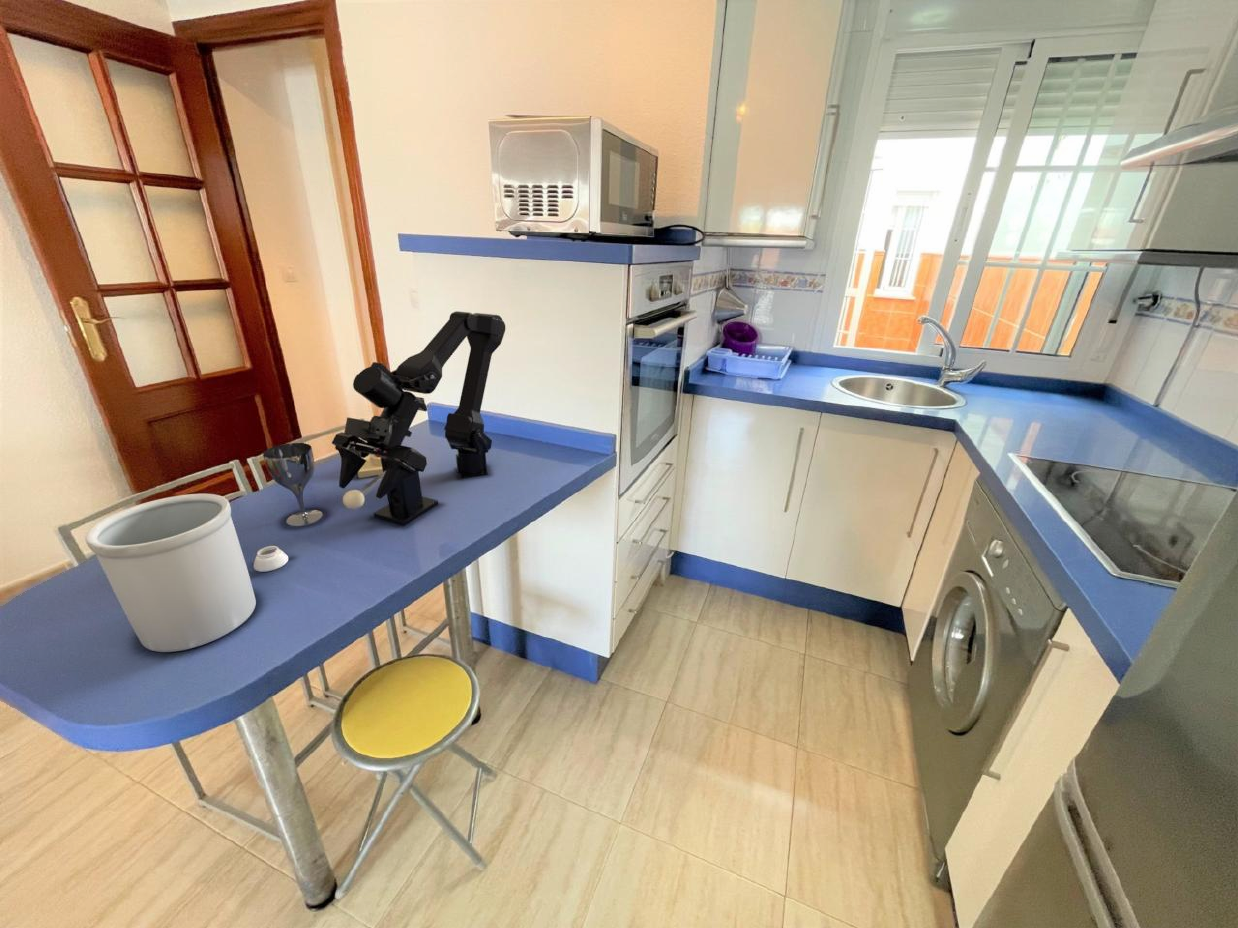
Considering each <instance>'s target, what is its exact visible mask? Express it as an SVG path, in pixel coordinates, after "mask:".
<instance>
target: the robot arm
mask: <svg viewBox="0 0 1238 928" xmlns="http://www.w3.org/2000/svg"><path fill="white" fill-rule="evenodd" d="M505 332H506V323H505V321H504V320H503V318H502V317H501V316H500V315H499V314H491V313H483V312H482V313H481V312H475V313H472V312H470V311H469V312H468V311H458V310H456V311H454V312H451V313H450V315H449V318H448V320H447V321H446V322H445V324H443V326H442V327H441V328H440V329H439V330H438V332H437V333H436V334H435V335H434V337H432V339H431V340H430V341H429V343H428V344H427V345H426V346H425V347H424V348H423V350H421V351H420V352H417V353H416V354H414V355H411V356H409V357H407V358H406V359H405V360H403V361H402V362H401V363H400V364H399V365H398V366H397V368H396V369H393V370H392V371H390V370H389V369H388V368H387V366H386V365H385V364H384V363H382V362H377V361H373V362H372V363H371V364H370V366H368V367H366V368H364V369H362V370H361V371H360V372H359V373H357V374H356V375H355V376H354V379H353V383H352V387H353V390H354V391H355V392H356V393H357V394H359V395H361V396H362V397H363V398H365V399H366V400H367V401H369V402H370V403H371V404H372V405H374V406H375V407H377V408H379V409H382V411H381V412H380V415H373V416H372V417H371V419H370V420H365V419H359V418H353V417H346V422H345V425H344V426H345V427H344V432H343V431H342V432H338V433H336V434H335V435H334V438H333V439H332V441H331V445H333V446H334V449H335V450H336V451H337V452H338V453H339V456H340V473H339V482H338V488H341V489H343V490H344V489H346V487H348V485H349V484H351V482H352V480H353V479H354V478H355V477H356V475H358V471H359V470H360V469H361V468H362V466H363V465H364V464H365V462H366V461H367V460H365V459H363V458H365V457H367V456H368V455H370V454H372V455H377V456H381V457H385V458H386V462H387V470H386V472H385V474H384V477H383V479H382V481H381V483H380V484H379V485H378V488H377V490H376V494H375V497H376V498H378V499H383V498H384V497H385V496H387V493H388V492H390V491H391V490H392V489H393V488H395V487H396V486H397V485H398V484H400V483H401V482H402V481H404V480H405V479H407V478H408V477H410V476H411V475H413V474H415V475H416V474H417V472H416V471H418V472H421V473H423V472H424V471H425V469H426V467H427V465H428V462H427V457H426V455H424V454H422V453H421V452H419V451H418V450H417V449H415V448H414V447H410V446H406V445H402V444H403V442H404V440H405V438H406V437H407V438H411V437H412V434H413V432H412V431H411V430H410V427H411V425H412V423H413V421H414V419H415V417H416V415H417V414H418V411H419V412H420V411H421V412H427V411H428V407H427V404H426V402H425V398H424V397H420V396H416V395H415V394H414V393H419V394H424V395H428V394H429V395H430V394H432V393H434V391H435V390H436V389H437V387H438V385H439V384H440V381H441V380H442V378H443V368H444V366H445V364H446V363H447V362H448V361H449V359H450V358H451V357H452V355H453V354H454V353H455V352H456V350H457V349H458V348H459V347H460V346H461V344H462V342H464V341H465V339H466V338H467V341H468V344H469V347H470V350H469V355H468V360H467V365H466V370H465V375H464V380H463V384H462V388H461V393H460V399H459V403H458V408H457V409H456V410H455V411H454V412H453V413H452V412H448V414H447V416H446V423H445V425H444V428H443V431H444V438H445V439H446V441H447V443H448V445H449V447H450V449H451V450H455V451H457V453H456V454H455V463H456V464H455V465H456V471H457V474H459V476H460V478H461V479H467V478H475V477H483V476H489V470H488V467H487V456H486V454H488V453H489V450H491V449H492V444H493V440H492V439H491V438H490V437H489V436H488V435H486V434H485V433H484V431H485V423H484V420H483V418H482V415H481V411H482V410H481V409H482V405H483V399H484V395H485V389H486V384H487V380H488V375H489V372H490V371H489V370H490V365H491V360H492V356H493V353H494V352H496V350H497V349H498V348H499V347H500V346H501V344H502V341H503V339H504V335H505ZM375 450H377V451H375ZM384 452H387V453H384ZM361 457H362V458H361ZM415 470H416V471H415Z"/></svg>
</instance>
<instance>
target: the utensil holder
mask: <svg viewBox="0 0 1238 928" xmlns="http://www.w3.org/2000/svg"><path fill="white" fill-rule="evenodd" d="M231 514H232V507H231V505H230V501H229V500H228V499H227V498H225V497H224V496H222V495H219V494H214V493H190V494H182V495H173V496H168V497H164V498H159V499H155V500H151V501H146V502H143V503H141V504H137V505H133V506H131V507H128V508H125V509H123V510H119V511H117V512H115V513H113V514H111V515H109V516H107V517H105V518H103V519H101V520H100V521H98V522H97V523H95V524H94V525H92V527H91V528H90V529H88V531H87V532H86V535H85V537H84V538H85V542H86V544H87V547H88V548H89V550H90V551H91V552H92V553H94V554H95V555H96V557H97V560H98V562H99V564H100V565H101V568H102V569H103V572H104V574H105V576H106V578H107V580H108V582H109V584H110V587H111V589H112V590H113V592H114V595H115V596H116V599H117V600H118V602H119V604H120V607H121V608H122V610H123V612H124V614H125V616H126V618H127V620H128V622H129V623H130V625H131V627H132V629H133V631H134V633H135V635H136V636H137V639H138V640H139V641H140V643H141V645H142V646H143V647H144V648H146V649H147V650H149V651H153V652H157V653H173V652H180V651H186V650H191V649H193V648H197V647H200V646H204V645H206V644H209V643H211V642H213V641H216V640H218V639H220V638H223V637H224V636H226V635H227V634H230V633H231V632H233V631H234V630H236V629H237V628H238V627H239V626H241V625H243V623H245V622H246V621H247V620H248V619H249V618H250V617H251V615H252V614H253V612H254V611H255V608H256V604H257V600H256V596H255V591H254V588H253V585H252V581H251V577H250V573H249V570H248V567H247V563H246V560H245V557H244V553H243V550H242V547H241V544H240V540H239V537H238V533H237V531H236V528H235V525H234V522H233V519H232V515H231Z"/></svg>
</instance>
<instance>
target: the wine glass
mask: <svg viewBox="0 0 1238 928" xmlns="http://www.w3.org/2000/svg"><path fill="white" fill-rule="evenodd" d="M262 456H263V460H264V463H265V467H266V469H267V471H268V473H269V475H270V476H271V478H272V479H273V481H274V482H275V483H276V484H278V485H279V486H281V487H283V488H285V489H286V490H289V491H290V492H291V493H292V494H294V496H295V498H296V500H297V503H298V505H299V506H298V507H299V510H300V511H299V512H295V513H294V514H291V516H289V517H288V518H287V519H286V524H288V525H289V526H293V527H295V526H296V527H297V526H298V527H299V526H306V525H309V524H312V523H315V522H318V521H319V520H320V519H321V518H322V517H323V512H322V511H320V510H317V509H308V510H306V508H305V503H304V490H305V489H306V487H307V485H308V484H309V482H310V481H311V480H312V478H313V476H314V474H315V456H314V451H313V448H312V446H311V445H310V444H309V443H305V442H291V443H283V444H279V445H276V446H273V447H270V448H267V449H266V450H265V451H264V452H263V453H262Z"/></svg>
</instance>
